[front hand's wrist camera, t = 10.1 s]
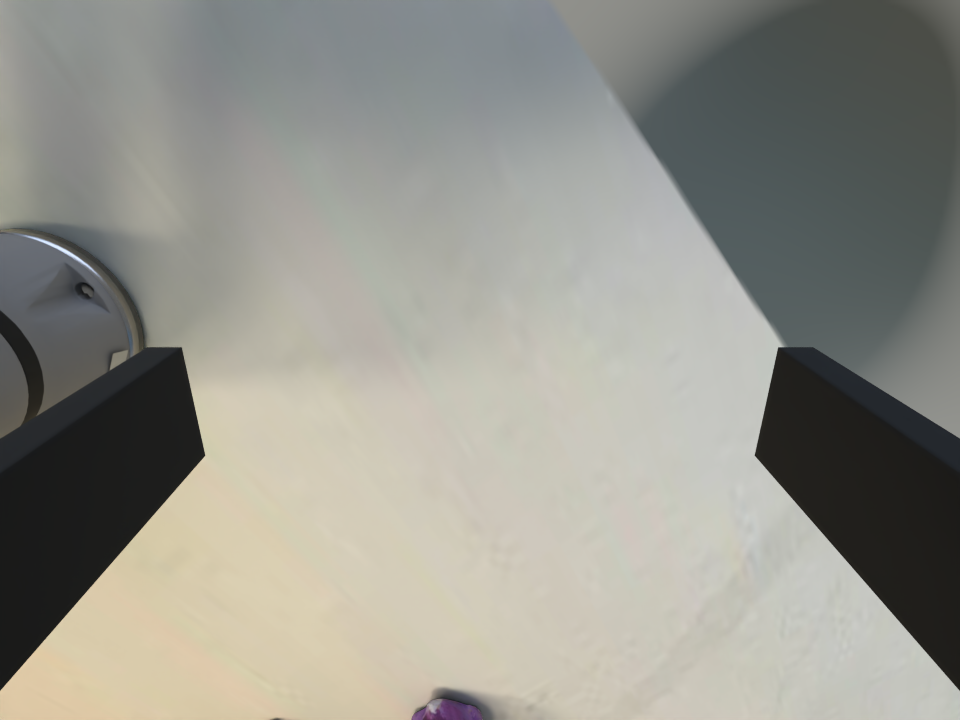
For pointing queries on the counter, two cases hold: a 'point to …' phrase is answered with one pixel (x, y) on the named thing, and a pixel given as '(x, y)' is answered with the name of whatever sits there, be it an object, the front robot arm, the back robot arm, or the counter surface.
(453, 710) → the figurine
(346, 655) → the counter surface
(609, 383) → the counter surface
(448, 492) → the counter surface
